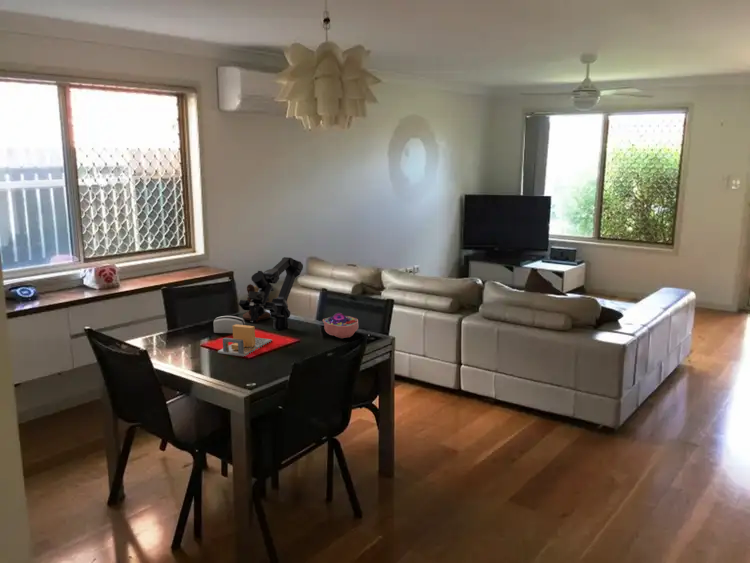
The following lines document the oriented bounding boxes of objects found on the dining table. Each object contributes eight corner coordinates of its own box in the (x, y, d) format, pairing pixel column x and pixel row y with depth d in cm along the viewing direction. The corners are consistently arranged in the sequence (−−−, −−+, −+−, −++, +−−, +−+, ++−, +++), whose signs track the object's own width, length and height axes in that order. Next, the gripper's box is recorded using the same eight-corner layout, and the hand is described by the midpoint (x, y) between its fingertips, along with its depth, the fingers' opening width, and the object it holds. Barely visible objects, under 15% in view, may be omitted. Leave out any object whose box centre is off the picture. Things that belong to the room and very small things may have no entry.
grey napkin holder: (248, 330, 325) (245, 314, 319) (246, 336, 321) (242, 320, 315) (217, 329, 327) (213, 313, 322) (214, 335, 323) (210, 319, 318)
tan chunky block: (237, 342, 300) (236, 324, 298) (255, 345, 297) (254, 326, 295) (226, 348, 292) (224, 329, 290) (244, 350, 289) (243, 331, 287)
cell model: (328, 344, 302) (328, 321, 300) (320, 332, 321) (319, 310, 318) (363, 341, 307) (362, 318, 304) (352, 329, 325) (352, 308, 323)
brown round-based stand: (257, 324, 336) (255, 287, 332) (237, 320, 344) (235, 284, 340) (276, 318, 348) (274, 282, 344) (256, 314, 356) (254, 279, 352)
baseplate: (247, 338, 312) (246, 325, 310) (272, 341, 307) (271, 327, 305) (218, 353, 290) (217, 338, 289) (244, 356, 285) (243, 342, 284)
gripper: (239, 283, 307) (227, 310, 299) (273, 285, 300) (262, 314, 292) (249, 295, 315) (237, 322, 307) (282, 298, 309) (271, 326, 301)
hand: (251, 321), depth 302 cm, fingers closed
